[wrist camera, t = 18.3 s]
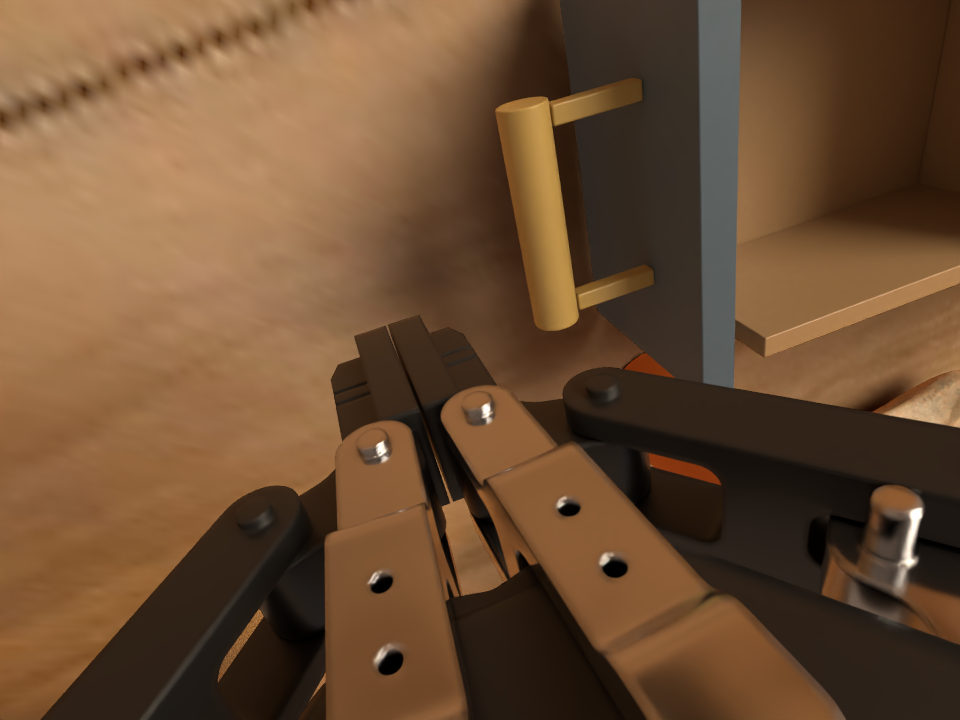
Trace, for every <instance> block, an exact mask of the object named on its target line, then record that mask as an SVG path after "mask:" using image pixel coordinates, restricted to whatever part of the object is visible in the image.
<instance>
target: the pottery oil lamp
mask: <svg viewBox="0 0 960 720" xmlns="http://www.w3.org/2000/svg"><path fill="white" fill-rule="evenodd" d="M873 413H879V414H885V415H890V416H896V417H902V418H908V419H913V420H919V421H925V422H931V423H936V424H942V425H948V426H954V427H959V428H960V370H955V371H950V372H947V373H944V374H941V375H939V376H936V377H934V378H931V379H929V380H927V381H925V382H923V383H921V384H919V385H918V386H916V387H914V388H912V389H910V390H909V391H907V392H905V393H904V394H902V395H900V396H899V397H897V398H895V399H894V400H892V401H890V402H889V403H887V404H885V405H884V406H882V407H880V408H878V409H877V410H875V411H873Z"/></svg>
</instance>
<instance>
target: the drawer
mask: <svg viewBox="0 0 960 720" xmlns="http://www.w3.org/2000/svg"><path fill="white" fill-rule="evenodd" d="M560 6H561V14H562V23H563V31H564V39H565V48H566V56H567V64H568V72H569V81H570V89H571V95H570V96H567V97H564V98H560V99H557V100H553V101H550V102H549V100H548V98H546V97H530V98H524V99H519V100H515V101H512V102H508V103H506V104H503V105H501V106H499V107H498V108H496V110H495V113H496V118H497V123H498V129H499V134H500V140H501V145H502V150H503V156H504V161H505V166H506V172H507V177H508V182H509V188H510V193H511V199H512V204H513V209H514V215H515V220H516V225H517V231H518V236H519V241H520V247H521V252H522V258H523V263H524V268H525V274H526V279H527V284H528V290H529V295H530V300H531V306H532V311H533V317H534V322H535V325H536V326H537V327H538V328H540V329H542V330H546V331H557V330H562V329H565V328H568V327H570V326H572V325H573V324H575V323H576V322H577V320H578V317H579V314H578V309H579V310H582V309H585V308H588V307H591V306H593V305H597V311H598V312H599V313H600V314H601V315H602V316H603V317H605V318H606V319H607V320H608V321H609V322H610V323H612V324H613V325H614V326H615V327H616V328H617V329H619V330H620V331H621V332H622V333H623V334H624V335H626V336H627V337H628V338H629V339H630V340H631V341H633V342H634V343H635V344H636V345H637V346H638V347H640V348H641V349H642V350H643V351H644V352H645V353H647V354H648V355H649V356H650V357H651V358H652V359H654V360H655V361H656V362H657V363H658V364H659V365H661V366H662V367H663V368H664V369H665V370H666V371H668V372H669V373H670V374H671V375H672V376H673V377H675V378H678V379H683V380H689V381H695V382H701V383H706V384H712V385H718V386H724V387H729V388H734V348H735V339H737V340H738V341H740V342H741V343H743V344H744V345H746V346H747V347H749V348H750V349H752V350H753V351H755V352H756V353H758V354H759V355H761V356H762V357H768V356H770V355H773V354H776V353H778V352H781V351H783V350H786V349H789V348H791V347H794V346H797V345H799V344H802V343H804V342H807V341H810V340H812V339H815V338H818V337H820V336H823V335H825V334H828V333H831V332H833V331H836V330H839V329H841V328H844V327H846V326H849V325H852V324H854V323H857V322H860V321H862V320H865V319H867V318H870V317H873V316H875V315H878V314H881V313H883V312H886V311H888V310H891V309H894V308H896V307H899V306H902V305H904V304H907V303H909V302H912V301H915V300H917V299H920V298H923V297H925V296H928V295H930V294H933V293H936V292H938V291H941V290H944V289H946V288H949V287H952V286H954V285H957V284H959V283H960V0H560ZM572 121H574V122H575V130H576V139H577V147H578V155H579V164H580V172H581V180H582V188H583V197H584V205H585V213H586V222H587V230H588V238H589V247H590V255H591V263H592V271H593V280H594V282H591V283H589V284H586V285H583V286H580V287H577V288H575V286H574V278H573V271H572V264H571V257H570V250H569V243H568V236H567V229H566V221H565V214H564V207H563V200H562V193H561V186H560V179H559V171H558V164H557V157H556V150H555V143H554V136H553V129H552V125H553V126H558V125H562V124H565V123H568V122H572Z"/></svg>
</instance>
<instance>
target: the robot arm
mask: <svg viewBox="0 0 960 720" xmlns="http://www.w3.org/2000/svg"><path fill="white" fill-rule="evenodd" d="M388 327H389V330H390V333H391V336H392V339H393V342H394V345H395V348H396V351H397V353H396V351H395V348H394V346H393V343H392V341H391V338H390V336H389V333H388V331H387V328H386V326H383V327H380V328H377V329H374V330H371V331H368V332H365V333H362V334H359V335H356V336H354V337H355V341H356V344H357V348H358V351H359V355H360V357H359V358H356V359H353V360H350V361H347V362H345V363H342V364H339V365H338V366H337V368H336V370H335V372H334V374H333V376H332V378H331V383H332V388H333V393H334V399H335V404H336V410H337V415H338V421H339V426H340V432H341V437H342V443H341V444H340V445H339V447H338V449H337V451H336V454H335V470H334V471H333V472H332V473H331V474H330V475H329V476H328V477H327V478H326V479H325V480H323V481H322V482H321V483H319V484H318V485H316V486H315V487H313V488H311V489H310V490H308V491H307V492H305V493H303V494H302V495H300V496H298V495H297V493H296V492H295V491H294V490H293V489H291V488H289V487H285V486H269V487H264V488H261V489H258V490H255V491H253V492H251V493H248V494H247V495H245V496H243V497H241V498H240V499H238V500H237V501H236V502H234V503H233V504H232V505H231V506H230V507H229V508H228V509H227V510H226V511H225V512H224V513H223V514H222V515H221V516H220V517H219V518H218V519H217V521H216V522H215V523H214V524H213V525H212V526H211V527H210V529H209V530H208V531H207V532H206V533H205V534H204V535H203V536H202V538H201V539H200V540H199V541H198V542H197V543H196V544H195V545H194V547H193V548H192V549H191V550H190V551H189V552H188V553H187V555H186V556H185V557H184V558H183V559H182V560H181V561H180V562H179V564H178V565H177V566H176V567H175V568H174V569H173V570H172V572H171V573H170V574H169V575H168V576H167V577H166V578H165V579H164V581H163V582H162V583H161V584H160V585H159V586H158V587H157V589H156V590H155V591H154V592H153V593H152V594H151V595H150V596H149V598H148V599H147V600H146V601H145V602H144V603H143V604H142V605H141V607H140V608H139V609H138V610H137V611H136V612H135V613H134V615H133V616H132V617H131V618H130V619H129V620H128V621H127V622H126V624H125V625H124V626H123V627H122V628H121V629H120V630H119V632H118V633H117V634H116V635H115V636H114V637H113V638H112V639H111V641H110V642H109V643H108V644H107V645H106V646H105V647H104V648H103V650H102V651H101V652H100V653H99V654H98V655H97V656H96V658H95V659H94V660H93V661H92V662H91V663H90V664H89V665H88V667H87V668H86V669H85V670H84V671H83V672H82V673H81V675H80V676H79V677H78V678H77V679H76V680H75V681H74V682H73V684H72V685H71V686H70V687H69V688H68V689H67V690H66V692H65V693H64V694H63V695H62V696H61V697H60V698H59V699H58V701H57V702H56V703H55V704H54V705H53V706H52V707H51V708H50V710H49V711H48V712H47V713H46V714H45V715H44V716H43V718H42V719H41V720H960V428H959V427H954V426H948V425H942V424H936V423H931V422H925V421H919V420H913V419H908V418H902V417H896V416H890V415H885V414H879V413H873V412H867V411H862V410H856V409H850V408H844V407H839V406H833V405H827V404H821V403H816V402H810V401H804V400H798V399H793V398H787V397H781V396H775V395H770V394H764V393H758V392H752V391H747V390H741V389H735V388H729V387H724V386H718V385H712V384H706V383H701V382H695V381H689V380H683V379H678V378H672V377H666V376H660V375H655V374H649V373H643V372H637V371H632V370H626V369H620V368H612V367H604V368H596V369H591V370H587V371H584V372H582V373H580V374H578V375H576V376H574V377H573V378H572V379H570V380H569V381H568V382H567V384H566V385H565V387H564V389H563V399H558V400H551V401H543V402H523V401H519V400H518V399H517V397H516V396H515V395H514V394H513V393H512V392H511V391H510V390H508V389H506V388H504V387H501V386H497V384H496V383H495V381H494V380H493V378H492V377H491V375H490V374H489V372H488V371H487V369H486V368H485V366H484V365H483V363H482V362H481V360H480V359H479V357H477V354H476V352H475V351H474V349H473V348H472V347H471V345H470V343H469V342H468V340H467V339H466V337H465V336H464V334H462V333H460V332H458V331H456V330H453V329H451V328H449V327H447V328H444V329H441V330H439V331H436V332H433V333H430V334H429V332H428V330H427V328H426V326H425V325H424V323H423V321H422V319H421V317H420V316H419V315H416V316H413V317H410V318H407V319H404V320H401V321H398V322H395V323H392V324H389V325H388ZM397 354H398V356H397ZM398 357H399V358H398ZM433 452H434V453H433ZM649 453H651V454H655V455H659V456H663V457H667V458H671V459H675V460H679V461H683V462H687V463H691V464H695V465H699V466H702V467H704V468H706V469H708V470H709V471H711V472H712V473H713V474H714V475H715V476H716V477H717V478H718V479H719V481H720V483H721V485H718V484H715V483H711V482H707V481H703V480H700V479H696V478H692V477H688V476H684V475H681V474H677V473H673V472H669V471H666V470H662V469H658V468H654V467H650V461H649ZM434 455H435V456H434ZM435 457H436V459H435ZM436 460H437V462H438V465H439V467H440V470H441V472H442V475H443V477H444V480H445V482H446V485H447V487H448V490H449V492H450V495H451V497H452V500H453V502H454V501H456V500H459V499H462V498H464V499H465V501H466V503H467V506H468V508H469V511H470V515H471V518H472V521H473V524H474V527H475V530H476V532H477V533H478V535H479V537H480V539H481V541H482V543H483V545H484V546H485V548H486V550H487V552H488V554H489V556H490V557H491V559H492V561H493V563H494V565H495V567H496V568H497V570H498V572H499V574H500V576H501V578H502V579H503V581H504V583H502V584H501V585H500V586H498V587H496V588H495V589H493V590H490V591H486V592H481V593H476V594H470V595H464V596H463V594H462V590H461V586H460V582H459V578H458V574H457V570H456V566H455V562H454V558H453V554H452V550H451V546H450V542H449V538H448V536H447V533H446V519H445V516H444V513H443V510H442V507H441V506H444V505H447V504H449V503H450V501H449V498H448V495H447V492H446V489H445V486H444V483H443V480H442V477H441V474H440V471H439V468H438V465H437V462H436ZM258 609H260V610H261V612H262V614H263V615H264V617H263V619H262V620H261V622H260V623H259V625H258V626H257V627H256V629H255V630H254V632H253V633H252V635H251V636H250V637H249V639H248V640H247V642H246V643H245V645H244V646H243V648H242V649H241V650H240V652H239V653H238V655H237V656H236V658H235V659H234V661H233V662H232V663H231V665H230V666H229V668H228V669H227V671H226V672H225V673H224V675H223V676H222V678H221V679H220V681H219V682H218V674H219V670H220V667H221V664H222V662H223V660H224V658H225V656H226V655H227V653H228V652H229V650H230V649H231V647H232V646H233V645H234V643H235V642H236V640H237V639H238V637H239V636H240V635H241V633H242V632H243V630H244V629H245V628H246V626H247V625H248V623H249V622H250V621H251V619H252V618H253V616H254V615H255V614H256V612H257V611H258ZM325 672H326V682H325V683H324V684H323V685H322V687H321V688H320V689H319V690H318V691H317V693H316V694H315V695H314V696H313V698H312V699H311V697H312V695H313V694H314V692H315V690H316V688H317V686H318V685H319V683H320V681H321V679H322V678H323V676H324V674H325ZM310 699H311V700H310ZM309 701H310V702H309ZM308 702H309V703H308ZM307 704H308V705H307Z"/></svg>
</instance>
